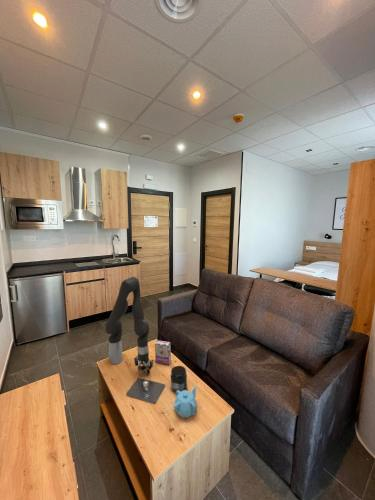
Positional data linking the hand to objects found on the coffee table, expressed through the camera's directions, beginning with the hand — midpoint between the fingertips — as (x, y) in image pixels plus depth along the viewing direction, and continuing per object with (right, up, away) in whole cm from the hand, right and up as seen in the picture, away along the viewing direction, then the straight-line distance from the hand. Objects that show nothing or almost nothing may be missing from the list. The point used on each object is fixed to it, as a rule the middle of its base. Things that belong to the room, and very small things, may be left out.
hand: (144, 372), depth 149 cm
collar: (0, -1, 0) cm, 1 cm away
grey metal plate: (+4, -3, -15) cm, 16 cm away
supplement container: (+25, -3, -13) cm, 28 cm away
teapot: (+30, -5, -29) cm, 42 cm away
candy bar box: (+12, +1, +12) cm, 17 cm away
